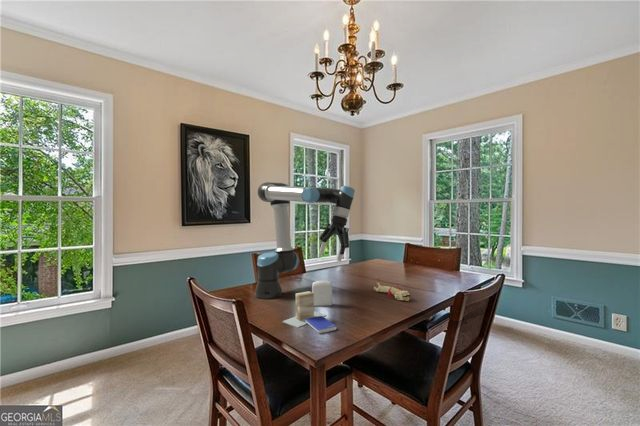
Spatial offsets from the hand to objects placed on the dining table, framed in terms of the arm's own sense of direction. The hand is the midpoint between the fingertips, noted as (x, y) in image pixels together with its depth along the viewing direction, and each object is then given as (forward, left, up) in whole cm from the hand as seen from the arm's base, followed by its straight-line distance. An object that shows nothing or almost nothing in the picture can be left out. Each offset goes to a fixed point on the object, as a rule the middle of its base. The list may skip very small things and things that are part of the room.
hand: (329, 257), depth 150 cm
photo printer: (-4, -1, -25) cm, 25 cm away
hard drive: (+13, -22, -24) cm, 35 cm away
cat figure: (+15, +35, -25) cm, 45 cm away
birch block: (+3, -20, -24) cm, 32 cm away
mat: (+3, -20, -24) cm, 32 cm away
